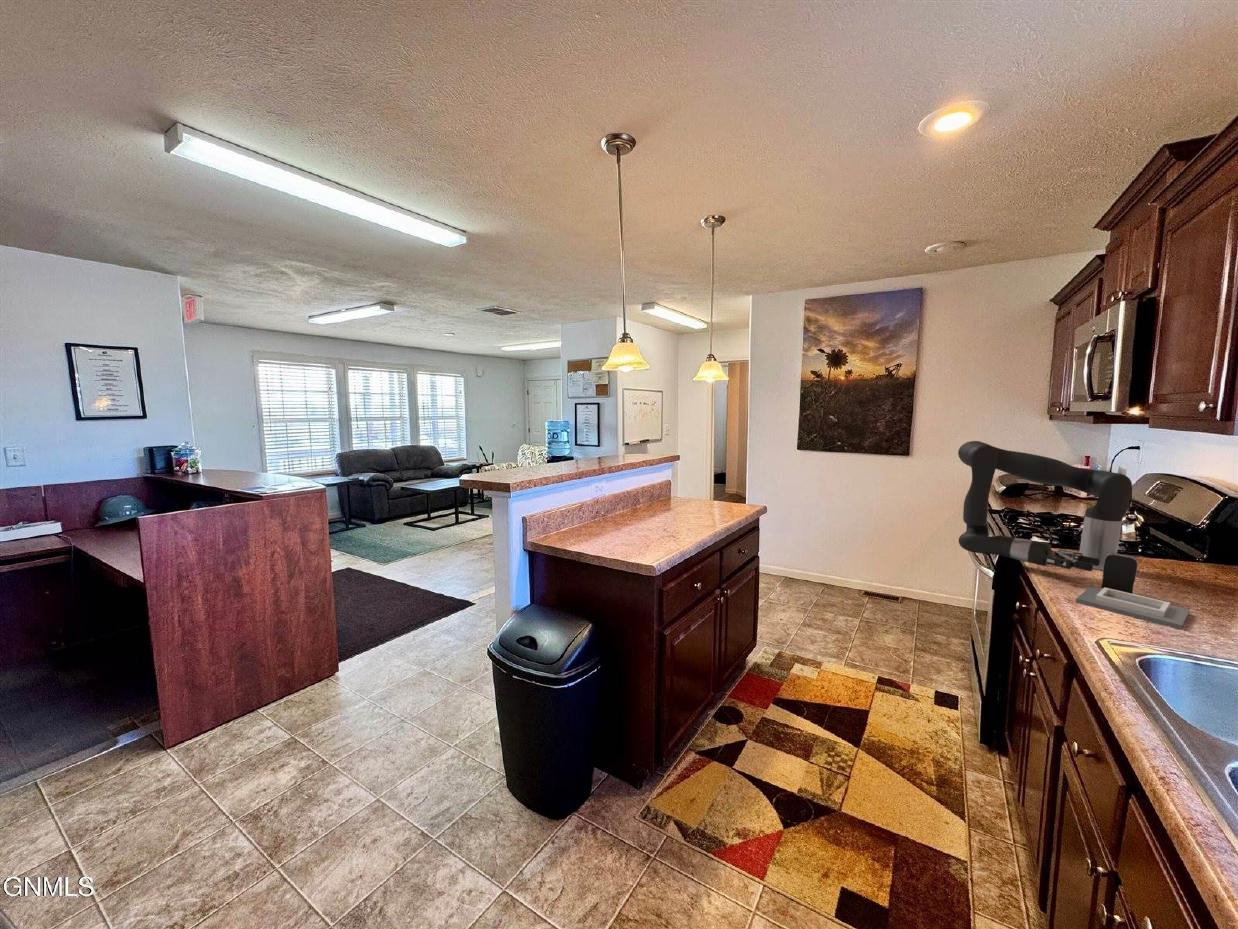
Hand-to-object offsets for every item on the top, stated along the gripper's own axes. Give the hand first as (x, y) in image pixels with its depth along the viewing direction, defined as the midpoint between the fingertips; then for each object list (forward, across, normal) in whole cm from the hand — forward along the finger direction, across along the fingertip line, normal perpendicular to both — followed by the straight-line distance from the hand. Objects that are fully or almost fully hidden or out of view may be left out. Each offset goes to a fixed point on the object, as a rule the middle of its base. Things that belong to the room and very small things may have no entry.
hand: (1096, 565), depth 152 cm
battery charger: (+5, 0, +7) cm, 9 cm away
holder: (+10, -14, +7) cm, 19 cm away
